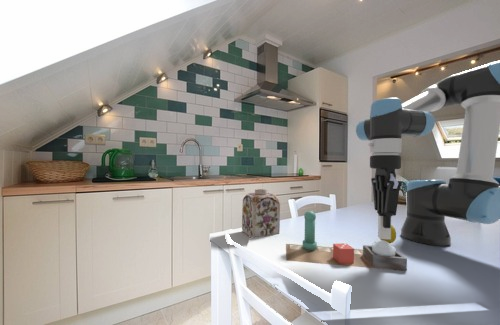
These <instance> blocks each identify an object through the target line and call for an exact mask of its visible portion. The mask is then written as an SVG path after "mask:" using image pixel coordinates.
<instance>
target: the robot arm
mask: <svg viewBox="0 0 500 325" xmlns="http://www.w3.org/2000/svg"><path fill="white" fill-rule="evenodd" d="M457 105H459V106H461V107H462V108H463V109H464V110H465V112H464V119H463V120H464V121H463V125H462V126H463V127H462V131H461V132H462V133H461V140H460V146H459V153H458V161H457V167H456V174H454V175H453V176H451V177H450V178H449V180H448V183H447V182H446V181H445V180H444V179H426V180H425V179H423V180H421V179H420V180H410V181H409V182H408V183H407V186H406V216H405V220H404V223H403V224H402V227H401V228H400V234H401V237H403V238H405V239H407V240H409V241H413V242H416V243H420V244H424V245H430V246H443V247H444V246H450V245H451V244H452V242H451V240H452V238H451V235H450V232H449V230H448V227H447V224H446V221H445V218H447V217H448V218H452V219H457V220H462V221H466V222H470V223H478V224H483V225H492V224H495V223H496V222H498V221H499V220H500V183H499V182H498V181H497V180H496V179H495V178H494V171H495V164H496V156H497V148H498V143H499V134H500V60H497V61H492V62H488V63H487V64H484V65H481V66H477V67H474V68H472V69H469V70H465V71H462V72H458V73H455V74H452V75H449V76H447V77H444V78H443V79H441V80H439V81H437V82H436V83H434V84H431V85H430V86H428V87H426V88H424V89H423V90H421V91H420V93H419V94H418V95H416V96H413V97H412V98H410V99H408V100H406V101H404V102H402V100H401V99H400V98H399V97H387V98H386V97H385V98H380V99H377V100H375V101H373V102H372V103H371V104H370V113H369V119H365V120H362V121H360V122H358V123H357V125H356V127H355V133H356V137H357V138H358V139H359V140H362V141H368V142H369V141H370V142H369V143H368V147H369V151H370V152H369V154H371V155H370V156H369V168H370V169H375V174H374V177H371V179H370V180H371V181H370V182H371V184H372V195H373V203H374V210H375V211H376V213H377V216H378V219H377V220H378V222H377V224H378V225H377V227H378V228H377V230H378V231H377V234H378V235H377V237H378V239H379V240H380V239H391V225H392V217H393V216H397V210H398V203H399V197H400V196H399V195H400V190H401V187H402V181H400V180H397V173H396V170H400V169H402V156H401V155H400V154H401V153H402V148H403V147H402V144H403V143H402V142H403V139H402V137H412V136H413V137H415V138H416V137H422V136H426V135H428V134H430V133H431V132H432V131H433V129H434V127H435V125H436V119H435V117H434V115H433V114H432V113H431V112H436V111H438V110H441V109H444V108H448V107H453V106H457Z"/></svg>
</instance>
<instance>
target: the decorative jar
mask: <svg viewBox="0 0 500 325" xmlns="http://www.w3.org/2000/svg"><path fill="white" fill-rule="evenodd" d="M267 191H268V190H267V189H266V188H264V189H263V188H256V189H255V190H254V192H250V193H249V192H248V193H247V194H245V196H244V197H243V199H242V210H241V211H242V214H241V217H242V219H241V230H242V232H243V233H244V234H245V235H247V237H249V238H250V239H251V238H252V237H253V238H256V237H264V236H273V235H279V234H280V228H281V202H280V200H279V198H278V197H277V195H276V194H273V193H269V192H267Z"/></svg>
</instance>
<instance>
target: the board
mask: <svg viewBox="0 0 500 325" xmlns="http://www.w3.org/2000/svg"><path fill="white" fill-rule="evenodd" d="M302 246H303V244H295V243H294V244H292V243H285V253H286V254H285V258H286V261H288V262H298V263H310V264H321V265H332V266H333V265H335V266H342V267H343V266H345V267H355V268H368V269H376V270H377V269H378V270H381V269H382V270H388V271H389V270H391V271H399V272H404V271H407V270H408V268H407V267H408V258H406V256H404V255H402V254H401V252H399V251H397V250H396V249H395V257H393V256H380V255H375V254H374V253H373V252H372V245H369V244H367V245H364V244H363V245H362V249H359V248H354V263H344V264H340V263H339V262H338V261H337V260H335V259H334V258H333V246H332V247H331V246H321V245H320V246H319V245H317V249H316V250H315V251H308V250H305V249H303V248H302Z"/></svg>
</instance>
